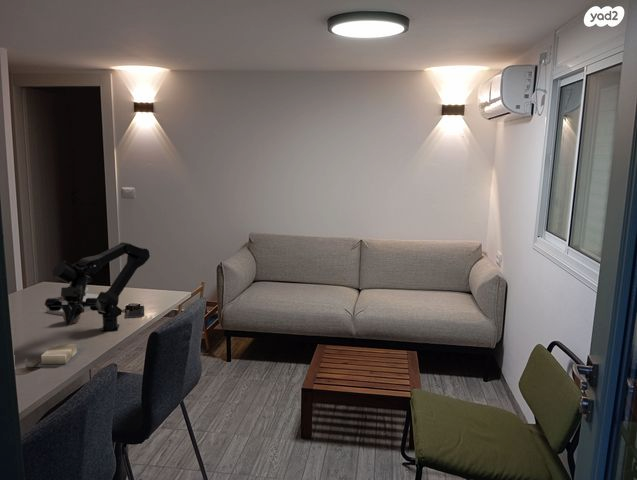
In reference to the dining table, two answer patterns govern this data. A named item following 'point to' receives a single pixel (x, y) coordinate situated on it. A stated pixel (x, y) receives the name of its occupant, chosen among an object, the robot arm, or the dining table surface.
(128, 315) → the phone
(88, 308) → the ramp
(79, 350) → the mat
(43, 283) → the dining table surface
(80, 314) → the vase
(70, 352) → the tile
